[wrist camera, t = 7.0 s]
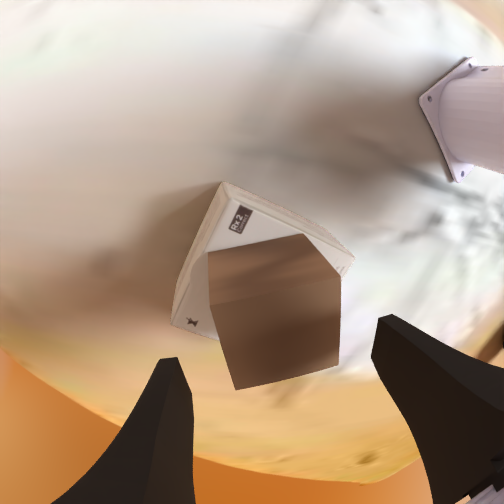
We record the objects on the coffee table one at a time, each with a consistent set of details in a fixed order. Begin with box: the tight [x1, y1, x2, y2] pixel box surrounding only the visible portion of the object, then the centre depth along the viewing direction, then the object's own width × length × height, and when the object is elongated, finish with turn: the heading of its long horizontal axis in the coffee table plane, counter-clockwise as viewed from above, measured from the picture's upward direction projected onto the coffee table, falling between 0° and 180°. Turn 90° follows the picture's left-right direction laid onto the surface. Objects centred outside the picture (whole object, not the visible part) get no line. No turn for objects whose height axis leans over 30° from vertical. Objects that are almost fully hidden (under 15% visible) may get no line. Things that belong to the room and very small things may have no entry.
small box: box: [170, 182, 355, 341], centre depth 17 cm, size 8×8×5 cm
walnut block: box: [208, 233, 341, 390], centre depth 13 cm, size 5×5×4 cm
